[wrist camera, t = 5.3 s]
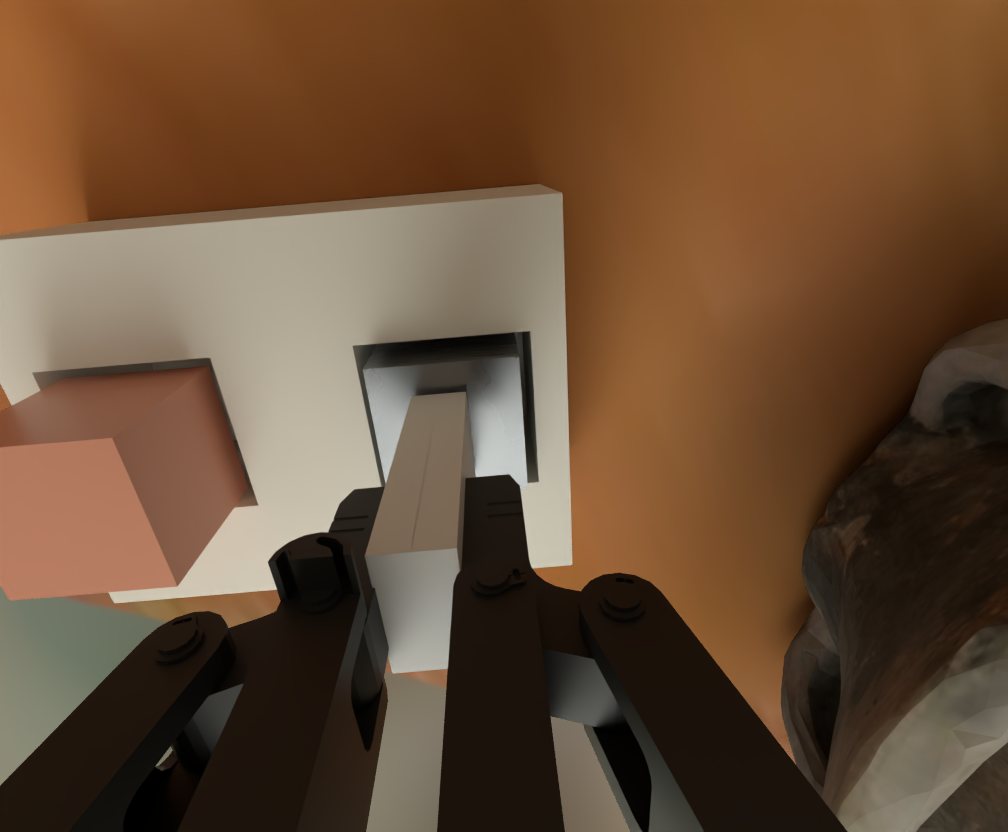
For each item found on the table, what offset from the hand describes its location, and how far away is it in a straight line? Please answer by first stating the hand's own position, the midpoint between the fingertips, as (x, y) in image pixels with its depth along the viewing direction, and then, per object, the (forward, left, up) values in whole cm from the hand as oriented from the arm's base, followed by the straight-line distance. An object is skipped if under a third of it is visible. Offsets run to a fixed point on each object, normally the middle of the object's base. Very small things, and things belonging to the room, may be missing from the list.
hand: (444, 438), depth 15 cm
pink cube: (0, -9, -2) cm, 9 cm away
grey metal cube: (0, 0, -5) cm, 5 cm away
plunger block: (0, -4, -7) cm, 8 cm away
